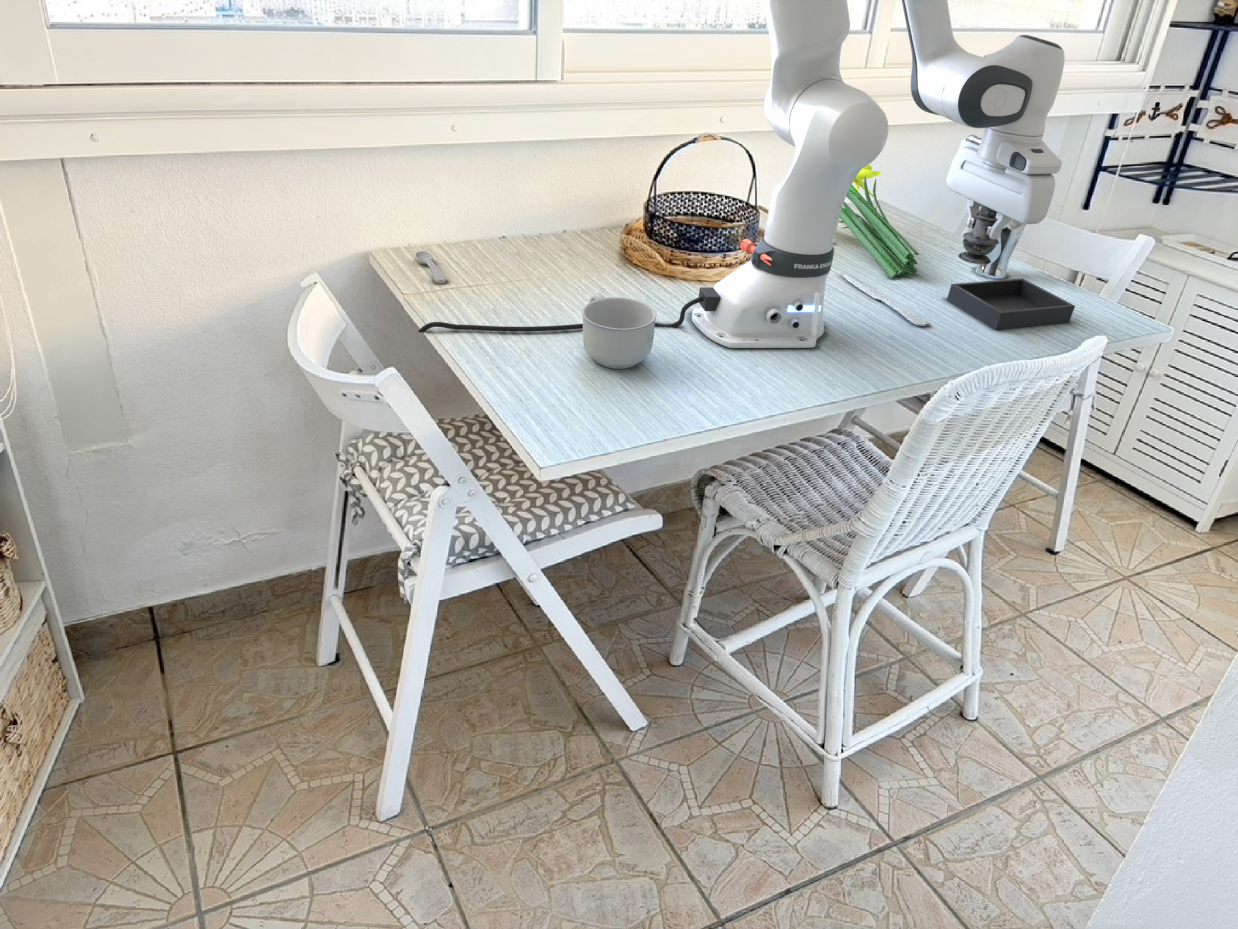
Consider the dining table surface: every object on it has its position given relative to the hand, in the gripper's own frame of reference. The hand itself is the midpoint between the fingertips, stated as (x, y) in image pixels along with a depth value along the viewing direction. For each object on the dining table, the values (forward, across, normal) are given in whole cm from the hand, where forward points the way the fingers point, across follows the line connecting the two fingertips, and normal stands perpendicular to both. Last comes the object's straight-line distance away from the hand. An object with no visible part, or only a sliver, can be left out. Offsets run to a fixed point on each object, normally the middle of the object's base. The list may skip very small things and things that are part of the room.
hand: (982, 232), depth 154 cm
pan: (+17, -3, +15) cm, 23 cm away
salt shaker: (+5, 0, 0) cm, 5 cm away
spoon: (+16, -38, -84) cm, 94 cm away
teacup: (+16, -1, -65) cm, 67 cm away
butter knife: (+17, -12, -7) cm, 22 cm away
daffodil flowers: (+17, -36, +6) cm, 40 cm away
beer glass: (+17, -20, +26) cm, 37 cm away
